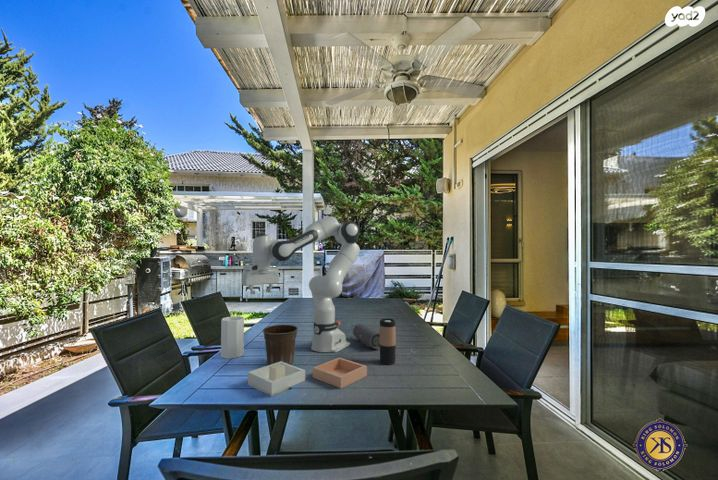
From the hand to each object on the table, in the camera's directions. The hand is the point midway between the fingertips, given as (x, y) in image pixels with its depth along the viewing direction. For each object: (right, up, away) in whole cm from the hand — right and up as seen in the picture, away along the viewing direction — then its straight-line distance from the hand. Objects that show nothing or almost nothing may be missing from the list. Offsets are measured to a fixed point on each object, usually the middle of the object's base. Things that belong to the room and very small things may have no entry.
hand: (260, 293), depth 165 cm
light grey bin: (+17, -30, -36) cm, 50 cm away
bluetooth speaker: (+55, -32, +16) cm, 66 cm away
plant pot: (+13, -31, -13) cm, 36 cm away
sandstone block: (+17, -29, -36) cm, 50 cm away
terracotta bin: (+42, -31, -31) cm, 61 cm away
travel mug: (+64, -31, -11) cm, 72 cm away
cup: (-14, -31, -2) cm, 34 cm away
